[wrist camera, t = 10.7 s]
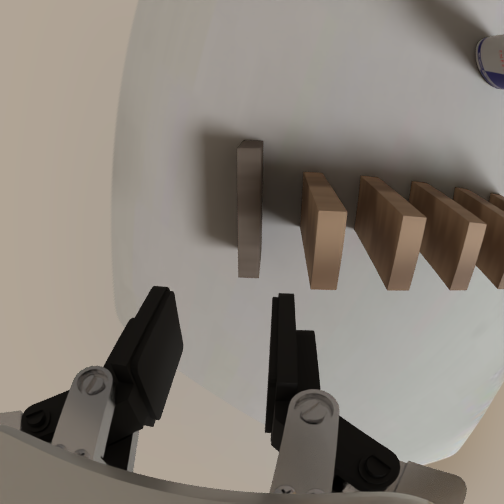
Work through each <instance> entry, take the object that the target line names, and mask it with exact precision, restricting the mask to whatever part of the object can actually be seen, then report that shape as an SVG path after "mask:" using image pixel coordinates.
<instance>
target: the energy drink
mask: <svg viewBox="0 0 504 504" xmlns="http://www.w3.org/2000/svg"><path fill="white" fill-rule="evenodd" d="M476 62H477V65H478V68H479V70H480V72H481V74H482V76H483V77H484V79H485V80H486V81H487V82H488V83H489V84H490V85H492V86H493V87H495V88H498V89H504V34H503V35H497V36H491V37H486V38H483V39H481V40H480V41H479V42H478V44H477V47H476Z"/></svg>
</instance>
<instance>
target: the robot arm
mask: <svg viewBox="0 0 504 504" xmlns="http://www.w3.org/2000/svg"><path fill="white" fill-rule="evenodd" d="M182 351H183V340H182V335H181V329H180V324H179V318H178V313H177V307H176V301H175V295H174V292H173V291H170V289H169V288H168V287H160V286H153V287H152V289H151V290H150V292H149V294H148V296H147V297H146V299H145V301H144V302H143V304H142V306H141V308H140V309H139V311H138V313H137V315H136V316H135V318H132V319H130V320H129V322H128V323H127V325H126V327H125V329H124V330H123V332H122V334H121V336H120V337H119V339H118V341H117V343H116V345H115V347H114V349H113V350H112V352H111V354H110V356H109V357H108V359H107V361H106V363H105V365H104V367H100V366H91V367H87V368H85V369H83V370H81V371H80V372H79V373H78V374H77V375H76V377H75V378H74V380H73V383H72V385H71V388H70V390H68V391H66V392H63V393H61V394H58V395H56V396H54V397H51V398H49V399H46V400H44V401H41V402H39V403H36V404H34V405H32V406H30V407H28V408H27V409H26V410H25V412H24V413H22V412H21V411H14V412H6V413H0V504H463V503H464V500H465V496H466V490H467V488H466V485H465V482H464V481H463V479H462V478H461V477H459V476H457V475H454V474H450V473H447V472H443V471H440V470H436V469H433V468H430V467H426V466H423V465H420V464H417V463H414V462H411V461H408V462H407V463H405V462H402V461H399V460H398V458H397V456H396V455H395V454H394V453H393V452H392V451H391V450H389V449H388V448H386V447H384V446H383V445H381V444H380V443H378V442H377V441H375V440H374V439H372V438H371V437H369V436H368V435H366V434H365V433H364V432H362V431H361V430H359V429H358V428H356V427H355V426H353V425H352V424H350V423H349V422H348V421H346V420H345V419H343V418H342V417H340V416H339V405H338V403H337V401H336V399H335V398H334V397H333V396H332V395H331V394H329V393H327V392H325V391H322V390H320V380H319V369H318V360H317V350H316V341H315V333H314V331H310V330H296V321H295V302H294V294H285V293H279V296H278V297H273V299H272V319H271V337H270V355H269V373H268V391H267V407H266V423H265V433H271V445H272V446H273V447H274V448H275V449H276V450H278V451H279V455H278V460H277V464H276V469H275V472H274V477H273V481H272V485H271V489H270V493H254V492H240V491H230V490H221V489H213V488H206V487H199V486H193V485H187V484H181V483H176V482H171V481H166V480H161V479H157V478H153V477H148V476H144V475H141V474H136V473H133V468H134V461H135V454H136V447H137V441H138V435H139V430H141V429H143V426H144V425H146V426H151V427H153V426H154V423H155V420H159V419H160V418H161V415H162V412H163V409H164V406H165V403H166V400H167V397H168V394H169V390H170V388H171V385H172V382H173V378H174V376H175V372H176V369H177V367H178V364H179V361H180V358H181V355H182Z"/></svg>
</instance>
